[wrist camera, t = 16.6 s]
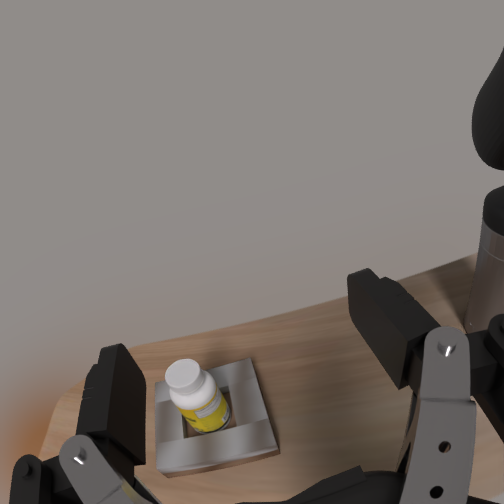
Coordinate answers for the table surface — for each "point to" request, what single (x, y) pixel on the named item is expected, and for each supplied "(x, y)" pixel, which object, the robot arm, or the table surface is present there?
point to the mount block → (222, 442)
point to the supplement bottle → (197, 396)
